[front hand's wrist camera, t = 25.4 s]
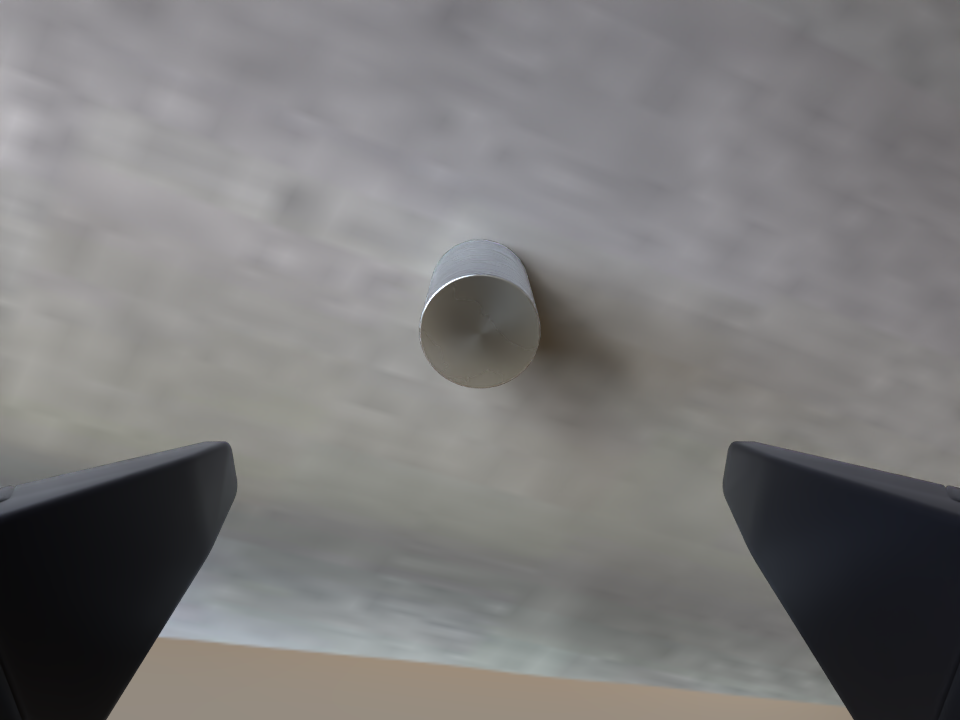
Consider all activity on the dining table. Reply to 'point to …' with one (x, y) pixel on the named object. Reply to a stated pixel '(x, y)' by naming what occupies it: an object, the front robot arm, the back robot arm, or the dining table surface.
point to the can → (479, 316)
